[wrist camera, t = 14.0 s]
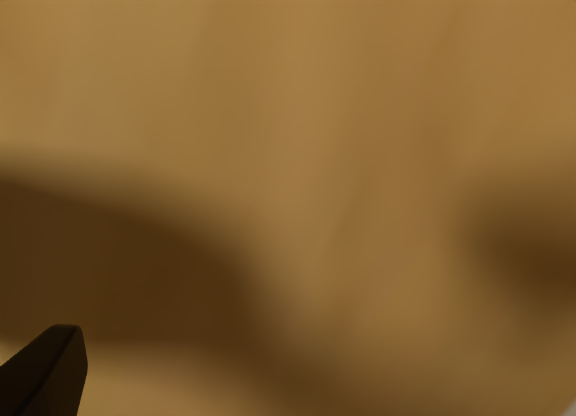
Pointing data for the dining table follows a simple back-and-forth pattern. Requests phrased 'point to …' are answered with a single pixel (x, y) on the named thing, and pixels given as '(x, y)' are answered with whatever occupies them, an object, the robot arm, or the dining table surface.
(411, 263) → the dining table surface
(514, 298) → the dining table surface
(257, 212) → the dining table surface
